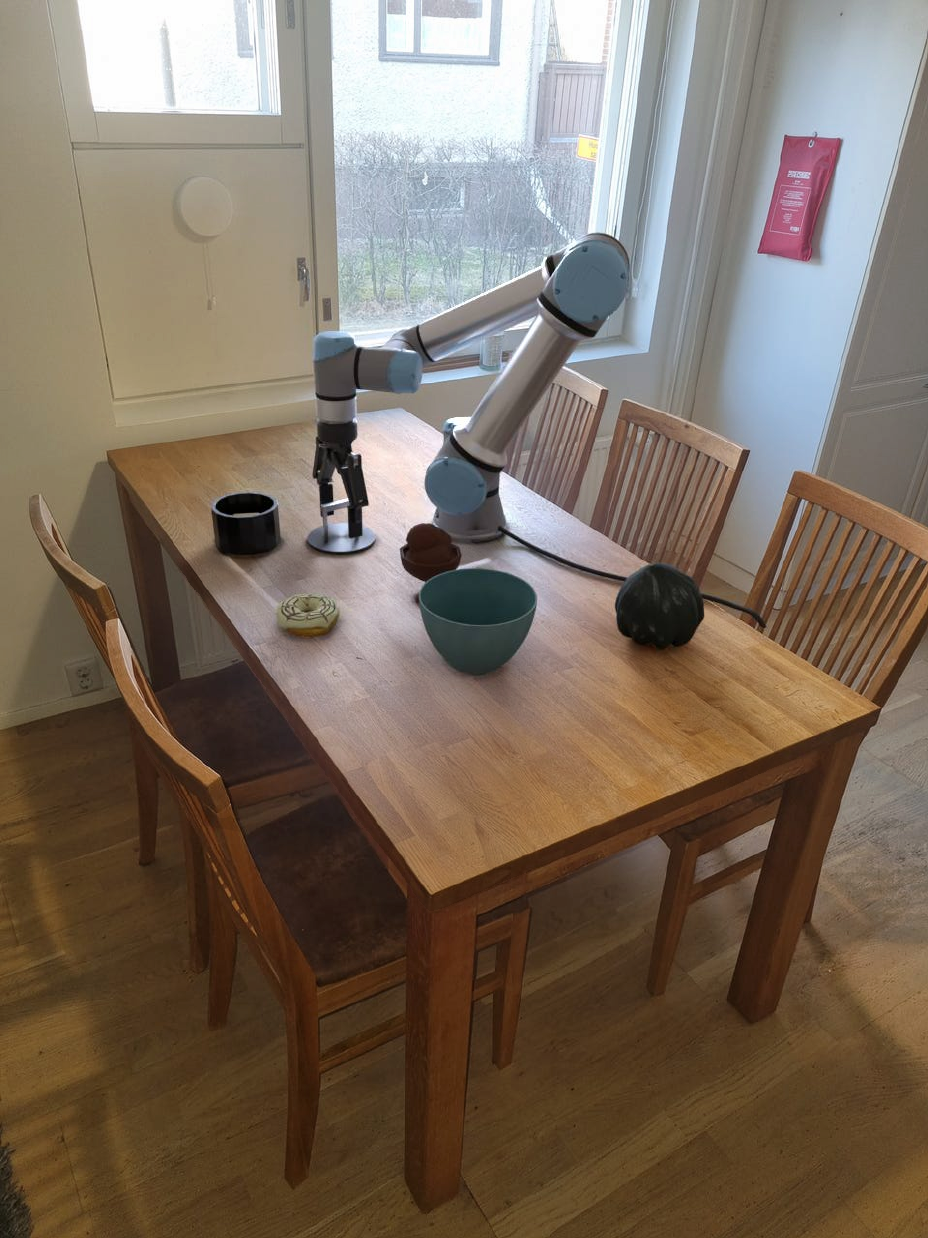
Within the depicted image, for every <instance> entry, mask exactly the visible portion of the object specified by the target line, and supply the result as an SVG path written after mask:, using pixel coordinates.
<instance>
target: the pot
mask: <svg viewBox="0 0 928 1238" xmlns="http://www.w3.org/2000/svg"><path fill="white" fill-rule="evenodd" d="M278 502H279V501H278V499H276V498H275V497H274V496H273V495H270V494H267V493H264V492H260V491H259V492H258V491H240V492H239V491H238V492H233V493H229V494H225V495H222V496H220V497H217V498H216V499H215V500H214V501H212V503H211V505H210V511H211V518H212V528H213V536H214V542H215V543H214V544H215V548H216V550H217V552H219V553H220V554H222V555H224V556H227V557H230V555H233V556H239V557H241V556H242V557H243V556H245V557H246V556H257V555H260V554H265V553H268V552H270V551H272V550H274V549H275V548H277V547H278V546H279V545H280V543H281V542H282V540H281V527H280V525H281V524H280V515H279V514H280V513H279V503H278ZM244 513H259V514H256V515H251V516H233V514H244Z"/></svg>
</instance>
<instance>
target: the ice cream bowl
mask: <svg viewBox="0 0 928 1238" xmlns="http://www.w3.org/2000/svg"><path fill="white" fill-rule="evenodd" d="M405 542H406V543H405V544H404V545H403V546H401V547H399V556H400V561H401V565H402V567H403V569H404V571H406V572H407V573H408V574H409V575H410V576H412V577H413V578H415V579H417V580H418V581H421V582H424V584H425V583H426V582H427V581H428V580H429V579H431V578H433V577H435V576H437V575H439V574H441V573H444V572H448V571H452V570H457V569H459V566H460V564H461V560H462V551H461V547H460V546H458V545H456V544H455V543H453V538H452V537H451V536H450V535H449V534H448V533H447V532H445V531H444V530H443V529H441V528H439V527H436V526H434V525H433V523H430V522H427V523H425V522H421V523H418V524H416V525H413V526H412V527H411V528H410V529H409V531H408V532H407V534H406V538H405ZM414 601H415V603H416V604H418V605H420V604H419V592H417V593H416V594H415V596H414Z"/></svg>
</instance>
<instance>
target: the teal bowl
mask: <svg viewBox="0 0 928 1238" xmlns="http://www.w3.org/2000/svg"><path fill="white" fill-rule="evenodd" d="M418 593H419V604H418V605H419V610H420V615H421V620H422V623H423V626H424V629H425V632H426V634H427V636H428V638H429V640H430V642H431V644H432V645H433V647H434V649H435V650H436V651H437V653H438V654H439V655H440V656H441V657H442V659H443V660H444V661H445V662H446V663H447V664H448V665H449V666H450V667H451V668H453V669H454V670H455V671H457V672H459V673H462V674H465V675H468V676H469V675H470V676H484V675H485V676H486V675H488V674H492V673H494V672H496V671H497V670H499V669H500V668H502V667H503V666H504V665H505V664H506V663H508V662H509V661H510V660H511V659H512V658H513V656H515V654H516V653H517V652H518V651H519V649H520V648H521V646H522V645H523V643H524V642H525V640H526V638H527V637H528V635H529V633H530V630H531V627H532V625H533V621H534V618H535V616H536V615H535V614H536V610H537V607H538V606H537V605H538V594H537V592H536V590H535V588H534V587H533V586H532V585H531V584H530V583H529V582H528V581H526V580H525V579H523V578H521V577H519V576H517V575H515V574H513V573H510V572H507V571H503V570H498V569H492V568H485V567H483V568H481V567H468V568H467V567H466V568H457V569H456V570H452V571H448V572H444V573H441V574H439V575H437V576H435V577H433V578H431V579H429V580H428V581H427V582H426V583H425V582H424V583H423V584H422V586H421V587H420V589H419V592H418Z"/></svg>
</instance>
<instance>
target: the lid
mask: <svg viewBox="0 0 928 1238" xmlns="http://www.w3.org/2000/svg"><path fill="white" fill-rule="evenodd" d="M349 505H350V504H349V500H348V498H345V499H340V500H336V501H334V502H331V503H327V504H322V505H321V511H322V516H323V517H322V525H321V526H319V527H316V528H314V529H312V530H311V531H310V532H309V533H308V535H307V544H308V546H309V547H310V548H312V549H313V550H315V551H317V552H319V553H323V554H329V555H336V556H337V555H340V556H341V555H352V554H357V553H361V552H365V551H366V550H368V549H370V548H371V547H373V546H374V545H375V543H376V539H377V536H376V533H375V532H374V530H372V529H371V528H369V527H367V526H365V525H362V530H363V536H359V537H355V538H351V539H350V538H349V535H348V522H336V523H335V522H334V523H329V524H328V516H327V512H329V511H333V510H334V511H337V510H342V509H347V506H349Z"/></svg>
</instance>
